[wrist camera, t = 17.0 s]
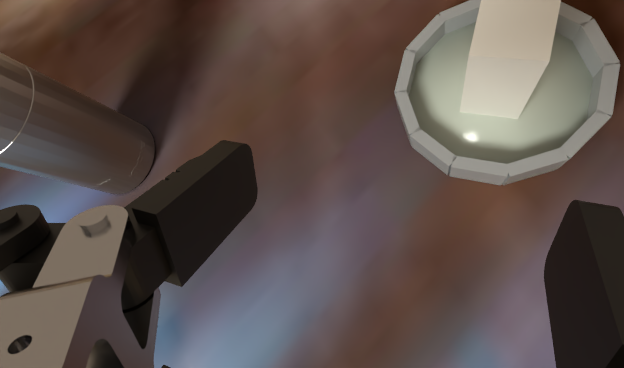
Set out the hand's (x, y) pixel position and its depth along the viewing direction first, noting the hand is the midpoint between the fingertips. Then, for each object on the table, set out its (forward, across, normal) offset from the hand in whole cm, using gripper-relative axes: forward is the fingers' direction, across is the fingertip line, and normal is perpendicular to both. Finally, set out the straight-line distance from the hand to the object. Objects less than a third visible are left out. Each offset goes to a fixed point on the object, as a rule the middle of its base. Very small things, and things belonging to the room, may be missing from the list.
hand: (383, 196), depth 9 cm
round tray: (+27, -4, +6) cm, 28 cm away
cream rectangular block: (+26, -4, +6) cm, 27 cm away
